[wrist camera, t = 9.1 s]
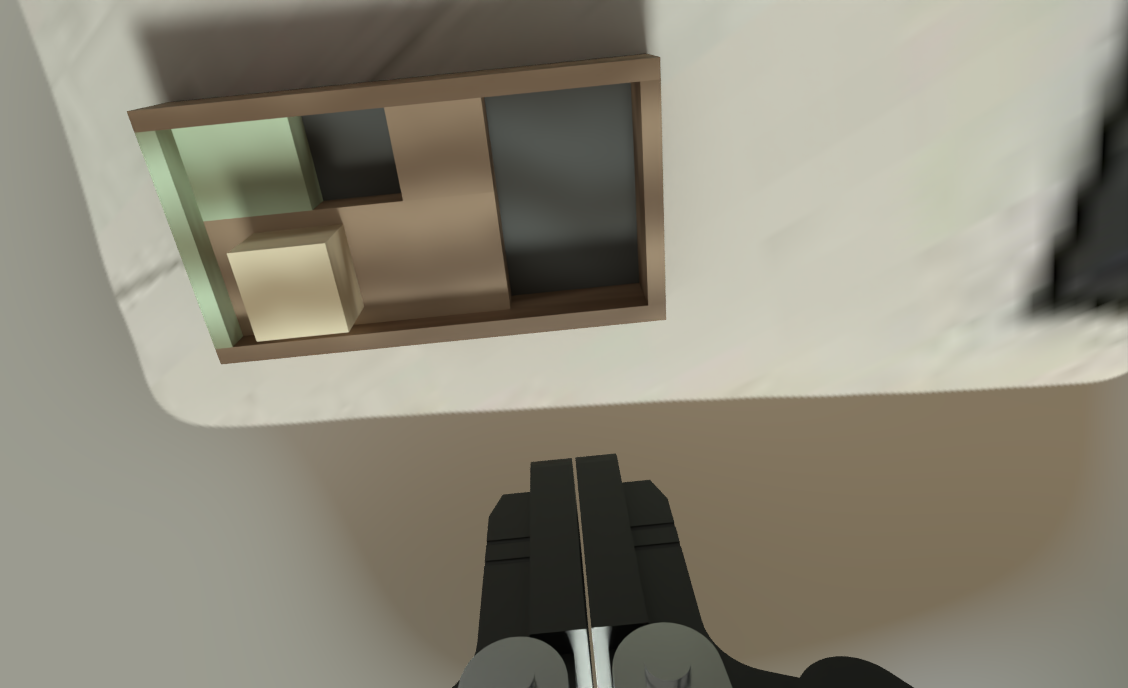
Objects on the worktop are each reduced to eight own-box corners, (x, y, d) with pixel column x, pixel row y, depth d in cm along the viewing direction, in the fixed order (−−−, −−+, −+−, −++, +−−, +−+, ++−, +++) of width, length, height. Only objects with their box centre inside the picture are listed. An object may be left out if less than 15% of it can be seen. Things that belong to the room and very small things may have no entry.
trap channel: (168, 102, 35) (126, 111, 31) (647, 53, 35) (660, 57, 31) (248, 334, 41) (221, 364, 38) (654, 293, 41) (666, 319, 38)
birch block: (253, 233, 36) (226, 253, 33) (343, 223, 36) (324, 243, 33) (279, 315, 38) (256, 341, 35) (364, 306, 38) (348, 332, 35)
